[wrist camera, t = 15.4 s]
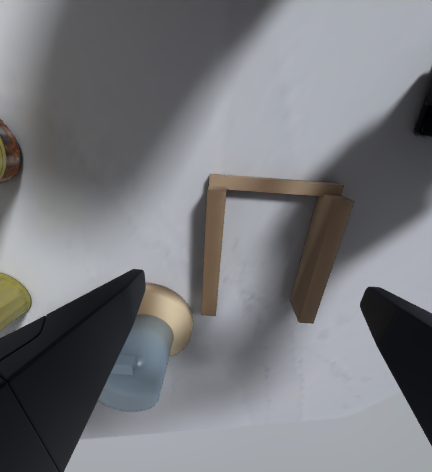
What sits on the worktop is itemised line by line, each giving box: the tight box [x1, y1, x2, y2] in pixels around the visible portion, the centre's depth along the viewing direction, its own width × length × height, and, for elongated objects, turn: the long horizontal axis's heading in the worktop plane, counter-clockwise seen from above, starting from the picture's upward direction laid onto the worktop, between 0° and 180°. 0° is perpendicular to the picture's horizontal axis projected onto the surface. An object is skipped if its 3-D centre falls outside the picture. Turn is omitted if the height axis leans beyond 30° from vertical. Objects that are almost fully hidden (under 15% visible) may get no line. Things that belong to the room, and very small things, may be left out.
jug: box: [98, 314, 174, 412], centre depth 22 cm, size 6×9×6 cm, turn 176°
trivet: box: [137, 283, 193, 357], centre depth 24 cm, size 10×10×2 cm
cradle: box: [201, 174, 354, 323], centre depth 19 cm, size 11×13×3 cm
